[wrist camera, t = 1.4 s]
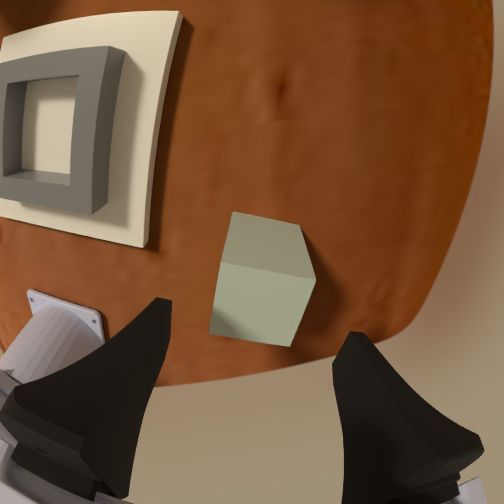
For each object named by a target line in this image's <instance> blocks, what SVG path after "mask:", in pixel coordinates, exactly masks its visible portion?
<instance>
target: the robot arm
mask: <svg viewBox="0 0 504 504" xmlns="http://www.w3.org/2000/svg"><path fill="white" fill-rule="evenodd" d="M27 295H28V299H29V302H30V306H31V310H32V313H33V317H32V318H31V319H30V321H29V322H28V323H27V324H26V326H25V327H24V328H23V329H22V331H21V332H20V333H19V335H18V336H17V337H16V339H15V340H14V341H13V343H12V344H11V345H10V347H9V348H8V349H7V351H6V352H5V354H4V355H3V356H2V358H1V359H0V504H133V503H130V502H126V501H123V500H121V499H124V498H126V497H127V496H128V494H129V486H130V479H131V473H132V467H133V462H134V456H135V451H136V446H137V442H138V437H139V433H140V429H141V424H142V420H143V416H144V412H145V409H146V406H147V403H148V401H149V398H150V395H151V393H152V390H153V388H154V385H155V383H156V380H157V378H158V375H159V372H160V370H161V367H162V365H163V362H164V360H165V356H166V352H167V349H168V345H169V341H170V333H171V312H172V301H171V300H167V299H162V298H158V297H157V298H155V299H154V300H153V301H152V302H151V303H150V304H149V305H148V306H147V307H146V308H145V309H144V310H143V311H142V312H141V313H140V314H139V315H138V316H137V317H136V318H134V319H133V320H132V321H131V322H130V323H129V324H128V325H127V326H125V327H124V328H123V329H122V330H121V331H120V332H118V333H117V334H116V335H115V336H113V337H112V338H111V339H110V340H108V341H107V342H106V343H105V339H104V333H103V327H102V320H101V315H100V313H99V312H98V311H96V310H93V309H89V308H86V307H83V306H80V305H76V304H73V303H70V302H67V301H64V300H61V299H58V298H55V297H52V296H49V295H46V294H43V293H41V292H38V291H35V290H32V289H30V290H28V292H27ZM95 320H96V321H95ZM332 369H333V370H332V371H333V385H334V390H335V395H336V400H337V406H338V410H339V416H340V421H341V425H342V433H343V445H344V482H343V495H342V503H341V504H487V500H486V496H485V493H484V489H483V486H482V483H481V480H480V477H476V478H474V479H471V480H469V481H467V482H464V483H462V484H460V485H457V481H458V480H459V479H460V474H459V472H460V471H461V470H463V469H465V468H466V467H467V466H469V465H470V464H471V463H473V462H474V461H476V460H477V459H478V458H479V457H480V456H481V455H482V454H483V452H484V447H483V445H482V442H481V440H480V437H479V435H477V434H476V433H474V432H472V431H470V430H468V429H465V428H464V427H462V426H460V425H458V424H457V423H455V422H453V421H452V420H450V419H449V418H447V417H446V416H444V415H443V414H441V413H440V412H439V411H437V410H436V409H435V408H433V407H432V406H431V405H430V404H429V403H427V402H426V401H425V400H424V399H423V398H422V397H420V395H418V394H417V393H416V392H415V391H414V390H413V389H412V388H411V387H410V386H409V385H408V384H407V383H406V382H405V381H404V379H403V378H402V377H401V376H400V375H399V374H398V373H397V372H396V371H395V370H394V368H393V367H392V366H391V365H390V364H389V362H388V361H387V360H386V359H385V358H384V356H383V355H382V354H381V353H380V352H379V350H378V349H377V348H376V347H375V346H374V344H373V343H372V342H371V341H370V340H369V338H368V337H367V336H366V335H365V334H364V333H363V332H354V331H350V333H349V334H348V336H347V338H346V340H345V342H344V344H343V345H342V347H341V349H340V351H339V353H338V354H337V356H336V358H335V360H334V361H333V363H332Z"/></svg>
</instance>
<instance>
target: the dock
mask: <svg viewBox="0 0 504 504" xmlns="http://www.w3.org/2000/svg"><path fill="white" fill-rule="evenodd" d="M182 19H183V15H182V14H181V13H180V12H179V11H140V12H124V13H113V14H104V15H96V16H89V17H82V18H76V19H71V20H66V21H61V22H56V23H52V24H48V25H43V26H40V27H36V28H32V29H29V30H25V31H22V32H19V33H15V34H12V35H9V36H6V37H4V38H3V42H2V47H1V51H0V216H2V217H6V218H10V219H15V220H19V221H23V222H27V223H32V224H36V225H40V226H45V227H49V228H53V229H58V230H62V231H67V232H71V233H76V234H80V235H85V236H89V237H94V238H98V239H103V240H107V241H112V242H117V243H121V244H126V245H131V246H135V247H140V248H143V247H144V246H145V245H146V243H147V242H148V237H149V220H150V207H151V195H152V184H153V175H154V166H155V158H156V150H157V142H158V135H159V129H160V122H161V116H162V110H163V104H164V99H165V93H166V88H167V83H168V78H169V73H170V68H171V64H172V59H173V55H174V51H175V46H176V42H177V38H178V34H179V30H180V27H181V23H182Z"/></svg>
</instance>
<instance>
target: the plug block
mask: <svg viewBox="0 0 504 504" xmlns="http://www.w3.org/2000/svg"><path fill="white" fill-rule="evenodd" d="M315 282H316V277H315V274H314V270H313V267H312V264H311V261H310V257H309V254H308V251H307V248H306V244H305V241H304V238H303V235H302V232H301V229H300V225H296V224H291V223H286V222H282V221H277V220H272V219H268V218H263V217H258V216H253V215H248V214H243V213H238V212H233V214H232V218H231V222H230V226H229V230H228V234H227V238H226V242H225V247H224V251H223V255H222V259H221V264H220V270H219V275H218V281H217V287H216V292H215V298H214V304H213V310H212V316H211V322H210V328H209V333H210V334H215V335H220V336H225V337H231V338H237V339H242V340H248V341H255V342H261V343H267V344H274V345H281V346H289V347H290V345H291V343H292V340H293V338H294V336H295V333H296V331H297V328H298V326H299V323H300V321H301V318H302V316H303V313H304V311H305V308H306V306H307V303H308V301H309V298H310V296H311V293H312V290H313V288H314V285H315Z"/></svg>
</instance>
